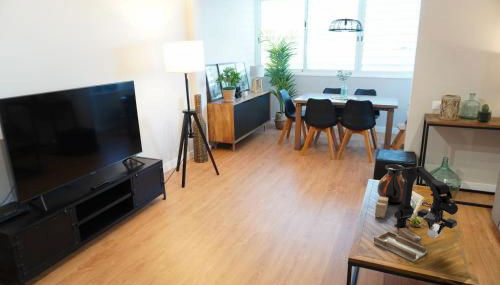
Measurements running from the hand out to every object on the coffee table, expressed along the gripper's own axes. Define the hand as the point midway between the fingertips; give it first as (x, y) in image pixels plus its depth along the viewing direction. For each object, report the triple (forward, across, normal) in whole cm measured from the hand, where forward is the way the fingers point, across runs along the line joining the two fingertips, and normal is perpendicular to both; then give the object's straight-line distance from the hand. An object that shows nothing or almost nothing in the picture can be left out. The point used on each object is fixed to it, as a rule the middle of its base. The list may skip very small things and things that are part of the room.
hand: (434, 232), depth 189 cm
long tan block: (+12, -14, 0) cm, 18 cm away
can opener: (+12, -17, +35) cm, 41 cm away
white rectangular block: (+1, 0, 0) cm, 1 cm away
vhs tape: (+13, -32, +57) cm, 66 cm away
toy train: (+12, -43, +17) cm, 48 cm away
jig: (+11, -12, -12) cm, 20 cm away
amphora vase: (+12, -49, +39) cm, 64 cm away
